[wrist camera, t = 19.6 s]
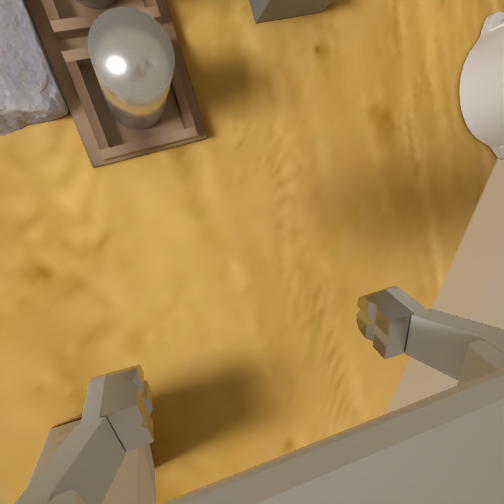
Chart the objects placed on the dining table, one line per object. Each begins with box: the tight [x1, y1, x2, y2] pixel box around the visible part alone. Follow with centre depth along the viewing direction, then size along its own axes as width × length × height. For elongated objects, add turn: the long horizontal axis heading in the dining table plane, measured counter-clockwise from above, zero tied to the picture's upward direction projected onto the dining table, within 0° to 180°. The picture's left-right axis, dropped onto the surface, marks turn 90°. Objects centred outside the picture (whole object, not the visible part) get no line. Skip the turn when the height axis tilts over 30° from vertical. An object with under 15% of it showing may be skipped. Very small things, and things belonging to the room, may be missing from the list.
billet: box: [88, 7, 175, 130], centre depth 24 cm, size 5×5×10 cm
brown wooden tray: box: [25, 0, 208, 168], centre depth 27 cm, size 11×19×2 cm, turn 17°
